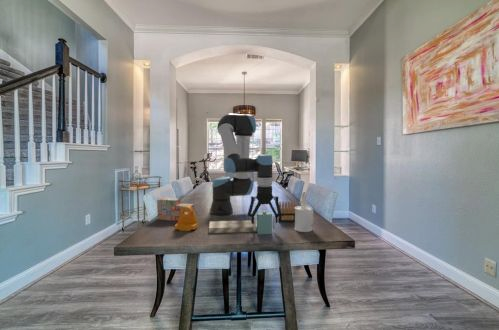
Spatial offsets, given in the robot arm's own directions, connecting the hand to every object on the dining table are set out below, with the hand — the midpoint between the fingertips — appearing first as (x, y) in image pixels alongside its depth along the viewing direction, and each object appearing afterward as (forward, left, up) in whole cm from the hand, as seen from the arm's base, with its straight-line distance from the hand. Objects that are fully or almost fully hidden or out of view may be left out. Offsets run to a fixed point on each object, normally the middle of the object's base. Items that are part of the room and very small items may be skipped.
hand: (264, 229), depth 130 cm
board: (-14, -4, -2) cm, 15 cm away
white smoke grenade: (+12, +18, -2) cm, 22 cm away
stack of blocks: (-54, -18, -2) cm, 57 cm away
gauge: (-4, +3, -2) cm, 5 cm away
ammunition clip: (-3, +24, -2) cm, 24 cm away
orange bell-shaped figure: (-34, -24, -2) cm, 42 cm away
